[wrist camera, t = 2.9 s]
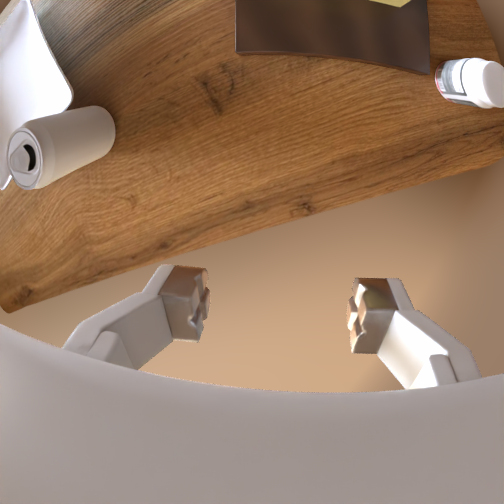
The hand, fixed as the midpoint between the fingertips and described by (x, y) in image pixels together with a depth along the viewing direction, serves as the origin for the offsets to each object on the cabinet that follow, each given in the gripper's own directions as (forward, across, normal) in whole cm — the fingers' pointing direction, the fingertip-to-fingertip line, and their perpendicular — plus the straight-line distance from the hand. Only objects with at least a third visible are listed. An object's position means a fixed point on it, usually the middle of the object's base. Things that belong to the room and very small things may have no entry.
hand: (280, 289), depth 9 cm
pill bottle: (+21, -17, -10) cm, 29 cm away
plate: (+21, +36, -12) cm, 44 cm away
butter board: (+21, -4, -20) cm, 29 cm away
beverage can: (+21, +21, -4) cm, 30 cm away
